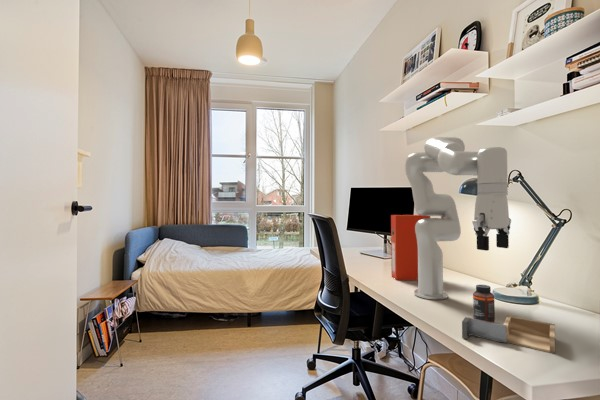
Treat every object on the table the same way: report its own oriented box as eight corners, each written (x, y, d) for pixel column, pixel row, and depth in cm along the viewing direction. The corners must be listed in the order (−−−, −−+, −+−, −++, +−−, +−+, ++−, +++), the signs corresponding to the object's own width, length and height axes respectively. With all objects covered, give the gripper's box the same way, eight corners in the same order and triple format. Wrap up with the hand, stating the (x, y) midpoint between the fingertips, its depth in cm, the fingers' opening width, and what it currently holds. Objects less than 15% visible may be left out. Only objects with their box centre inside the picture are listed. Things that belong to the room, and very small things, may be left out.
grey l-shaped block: (465, 332, 90) (465, 317, 90) (506, 342, 84) (506, 325, 84) (462, 337, 87) (462, 321, 87) (504, 348, 81) (504, 330, 81)
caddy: (507, 329, 93) (507, 315, 93) (554, 338, 86) (554, 324, 86) (502, 341, 85) (502, 326, 85) (554, 353, 78) (554, 337, 78)
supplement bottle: (496, 321, 100) (496, 285, 100) (492, 326, 95) (492, 289, 95) (475, 316, 104) (475, 282, 104) (471, 321, 99) (470, 286, 99)
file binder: (391, 276, 162) (391, 214, 163) (424, 276, 162) (424, 214, 163) (396, 280, 154) (395, 215, 155) (431, 280, 154) (430, 215, 155)
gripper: (496, 191, 99) (496, 245, 99) (461, 190, 91) (462, 249, 90) (522, 190, 92) (523, 248, 92) (487, 189, 84) (488, 252, 84)
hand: (492, 248), depth 91 cm, fingers open, 9 cm apart
